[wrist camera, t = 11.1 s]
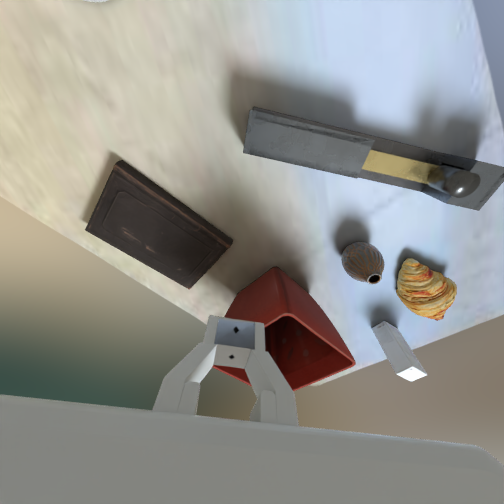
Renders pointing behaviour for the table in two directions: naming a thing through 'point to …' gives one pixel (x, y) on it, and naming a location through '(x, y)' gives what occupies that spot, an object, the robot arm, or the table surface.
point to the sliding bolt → (424, 173)
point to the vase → (363, 262)
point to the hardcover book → (155, 227)
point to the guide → (355, 154)
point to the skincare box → (398, 352)
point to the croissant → (425, 290)
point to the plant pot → (290, 330)
